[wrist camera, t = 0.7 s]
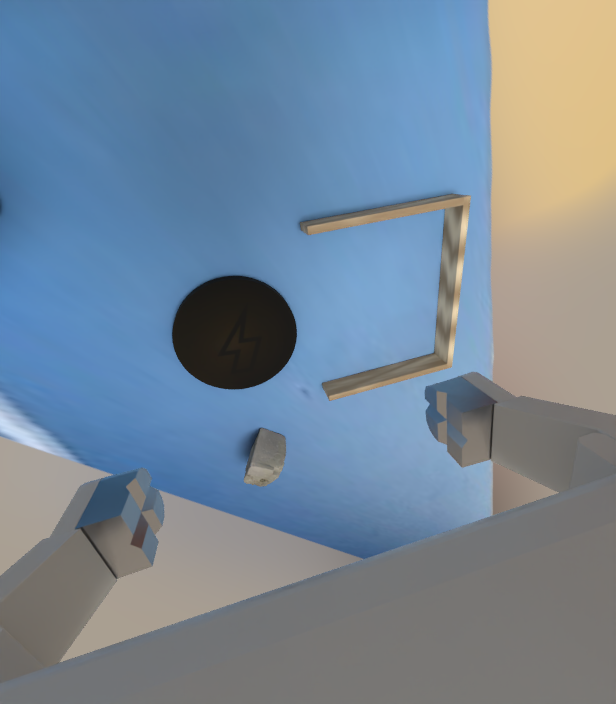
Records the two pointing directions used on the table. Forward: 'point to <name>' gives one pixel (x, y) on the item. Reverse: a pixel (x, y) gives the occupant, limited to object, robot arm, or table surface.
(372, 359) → the table surface
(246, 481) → the mineral specimen
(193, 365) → the wireless charger
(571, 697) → the robot arm
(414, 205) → the box
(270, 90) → the table surface
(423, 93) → the table surface
